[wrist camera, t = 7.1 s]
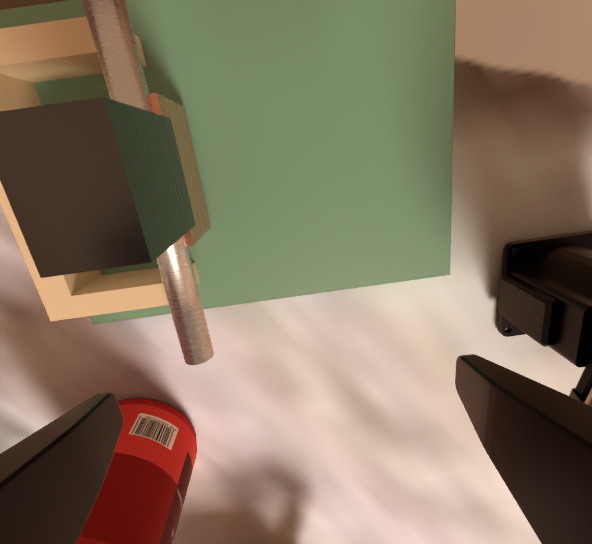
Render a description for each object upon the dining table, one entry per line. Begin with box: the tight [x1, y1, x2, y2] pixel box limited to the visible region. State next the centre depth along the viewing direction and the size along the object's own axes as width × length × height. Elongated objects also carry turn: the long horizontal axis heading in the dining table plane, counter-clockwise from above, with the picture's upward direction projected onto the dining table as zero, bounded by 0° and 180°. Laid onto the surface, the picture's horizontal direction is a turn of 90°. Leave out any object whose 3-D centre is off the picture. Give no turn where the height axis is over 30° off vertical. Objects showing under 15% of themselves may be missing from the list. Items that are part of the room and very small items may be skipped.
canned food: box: [76, 399, 197, 544], centre depth 20 cm, size 8×8×11 cm
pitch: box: [0, 0, 456, 324], centre depth 17 cm, size 22×16×4 cm
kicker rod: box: [0, 0, 214, 365], centre depth 13 cm, size 3×17×10 cm, turn 8°
